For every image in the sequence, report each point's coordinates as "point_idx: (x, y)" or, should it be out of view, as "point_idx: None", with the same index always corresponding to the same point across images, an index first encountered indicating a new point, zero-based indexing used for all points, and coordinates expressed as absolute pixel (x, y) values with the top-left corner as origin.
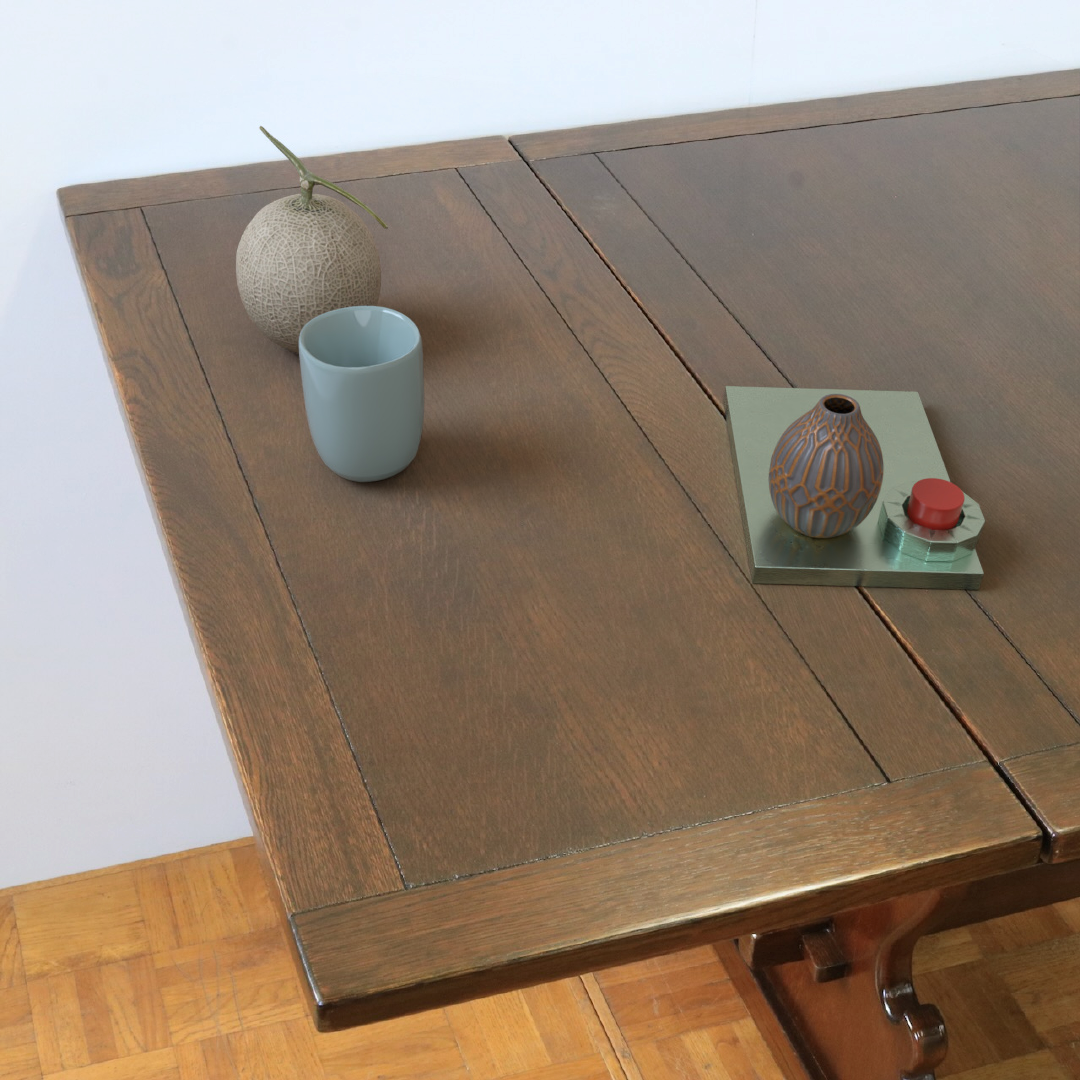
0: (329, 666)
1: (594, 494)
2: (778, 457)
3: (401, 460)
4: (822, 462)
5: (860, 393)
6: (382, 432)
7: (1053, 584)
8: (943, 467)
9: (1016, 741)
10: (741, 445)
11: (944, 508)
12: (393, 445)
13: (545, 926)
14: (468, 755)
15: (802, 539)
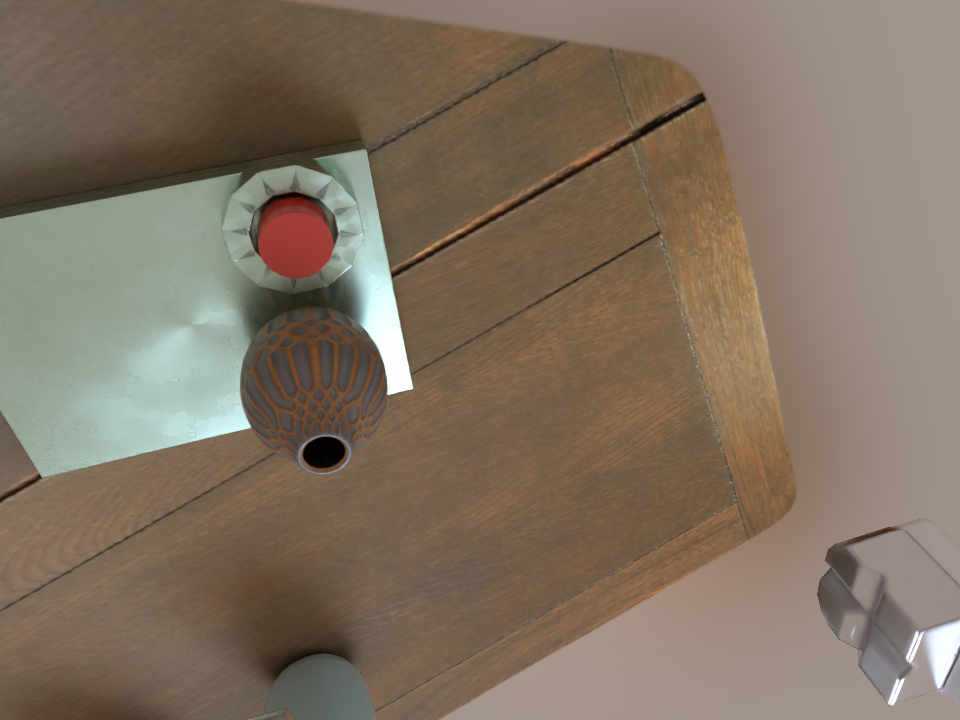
0: (558, 600)
1: (301, 524)
2: (342, 450)
3: (344, 668)
4: (378, 421)
5: None
6: (366, 709)
7: (321, 32)
8: (123, 199)
9: (607, 109)
10: (182, 438)
11: (329, 237)
12: (356, 689)
13: (770, 430)
14: (635, 507)
15: None
